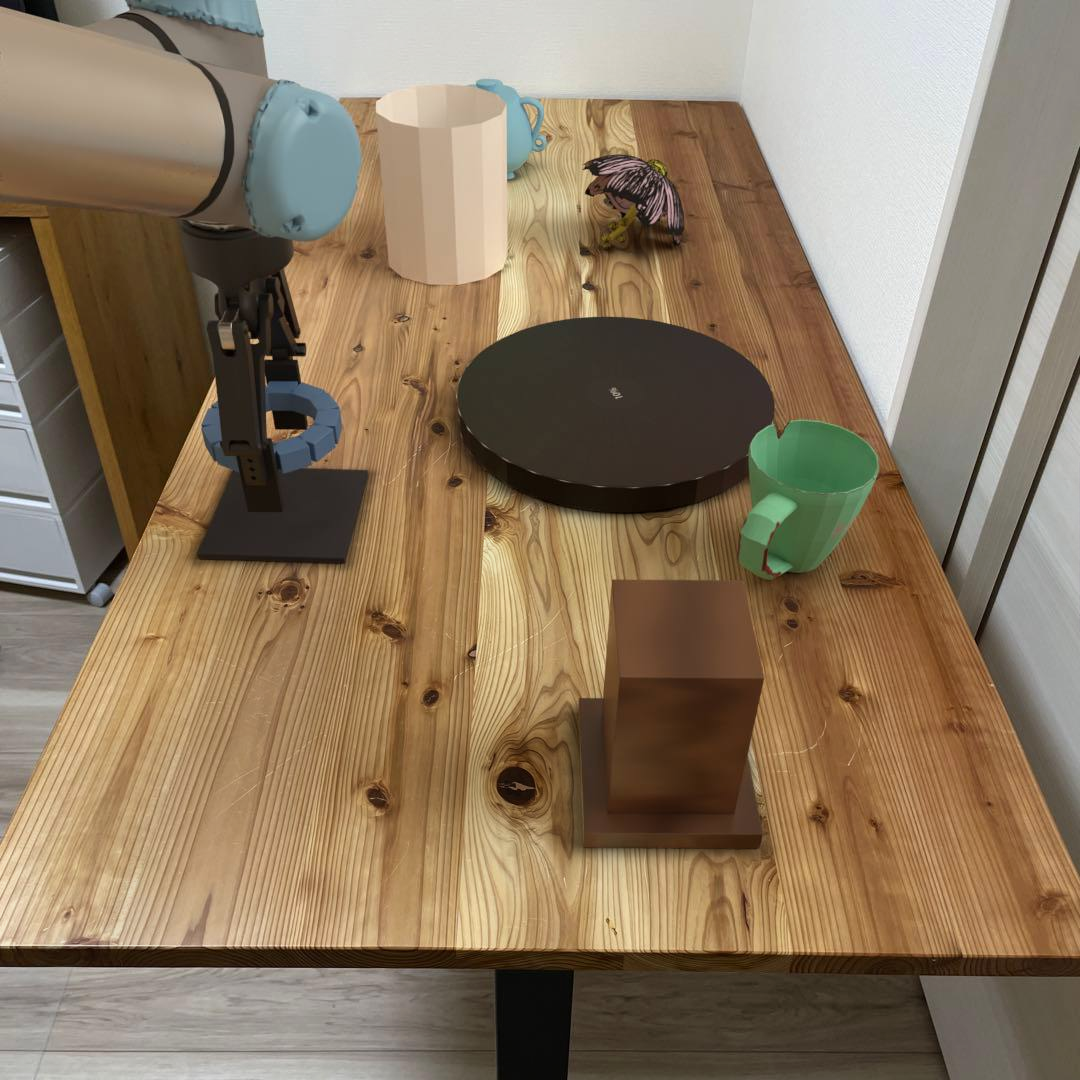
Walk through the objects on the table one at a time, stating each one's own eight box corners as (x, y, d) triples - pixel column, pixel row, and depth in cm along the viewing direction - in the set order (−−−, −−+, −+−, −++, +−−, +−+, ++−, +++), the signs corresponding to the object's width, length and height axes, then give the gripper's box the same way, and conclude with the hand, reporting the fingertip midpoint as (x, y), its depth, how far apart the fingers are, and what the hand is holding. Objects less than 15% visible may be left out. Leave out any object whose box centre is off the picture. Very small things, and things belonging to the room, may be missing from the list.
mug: (765, 501, 93) (783, 405, 87) (871, 544, 89) (899, 446, 83) (682, 595, 84) (695, 494, 78) (797, 647, 80) (821, 546, 74)
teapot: (541, 196, 144) (542, 106, 136) (419, 191, 145) (413, 101, 137) (551, 142, 159) (552, 59, 152) (440, 138, 160) (436, 55, 152)
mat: (345, 563, 87) (344, 558, 86) (198, 559, 87) (196, 553, 86) (368, 475, 96) (367, 469, 95) (235, 471, 96) (234, 465, 96)
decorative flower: (724, 181, 123) (603, 144, 120) (692, 279, 128) (573, 246, 124) (692, 169, 137) (581, 135, 133) (663, 259, 141) (555, 228, 137)
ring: (192, 474, 82) (187, 455, 81) (223, 398, 90) (219, 380, 89) (330, 475, 82) (327, 456, 81) (349, 399, 90) (346, 381, 89)
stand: (583, 847, 67) (593, 697, 58) (578, 711, 75) (586, 562, 66) (759, 848, 67) (796, 699, 58) (734, 713, 75) (764, 563, 66)
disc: (407, 383, 107) (405, 357, 106) (655, 315, 119) (657, 291, 117) (556, 556, 88) (557, 527, 86) (836, 454, 99) (842, 427, 97)
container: (413, 294, 122) (402, 135, 110) (370, 245, 132) (355, 94, 120) (527, 270, 127) (527, 115, 116) (477, 224, 137) (473, 77, 125)
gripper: (252, 287, 65) (301, 559, 79) (313, 147, 83) (344, 390, 97) (128, 286, 65) (200, 558, 79) (215, 146, 83) (261, 390, 97)
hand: (279, 466), depth 88 cm, fingers closed on ring, 11 cm apart
